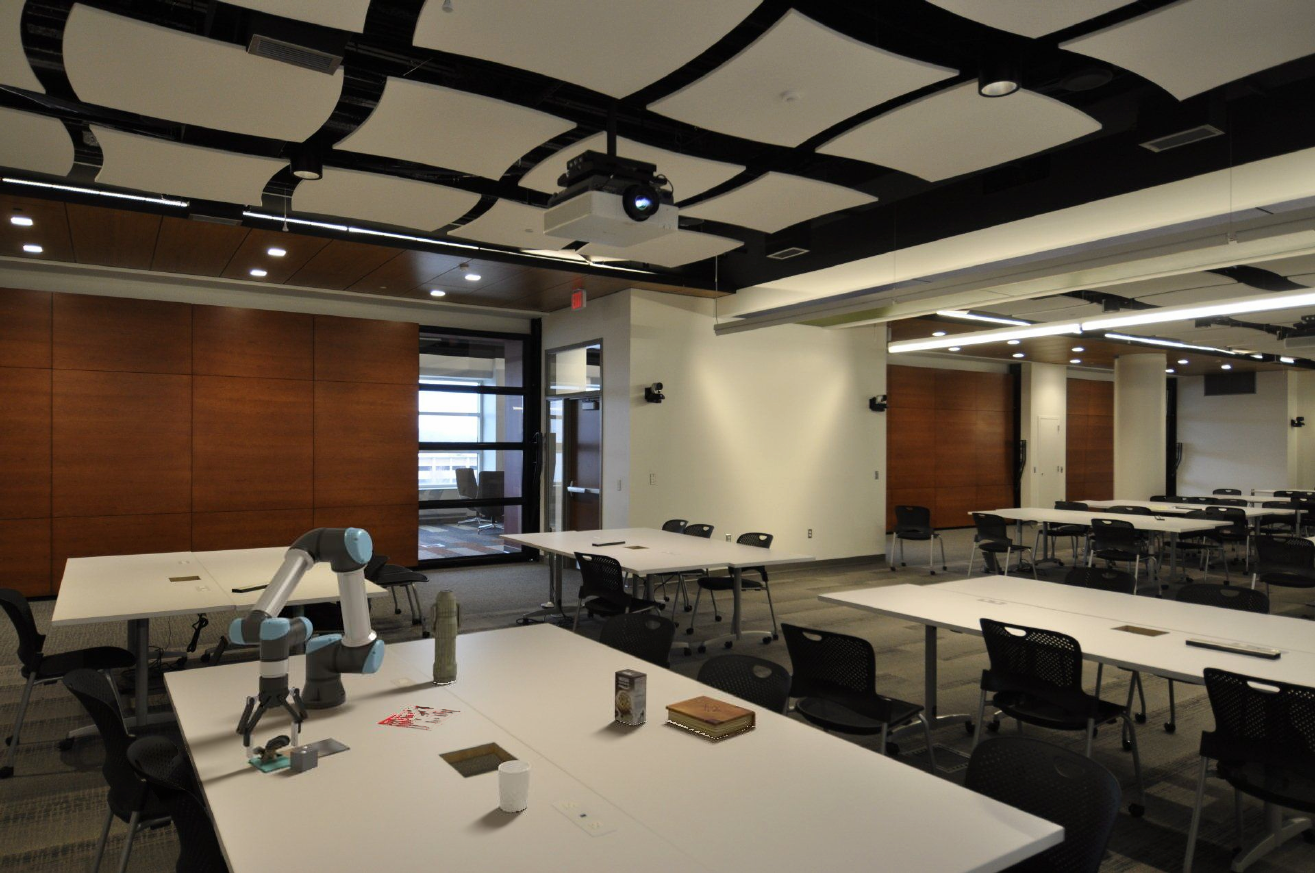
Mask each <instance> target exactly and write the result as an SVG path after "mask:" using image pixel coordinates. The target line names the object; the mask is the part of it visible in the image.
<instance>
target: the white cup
mask: <svg viewBox="0 0 1315 873" xmlns="http://www.w3.org/2000/svg"><path fill="white" fill-rule="evenodd" d="M497 774H498V792H499V793H498V794H499V808H500V809H502V810H503V811H502V810H501V811H502V812H505V811H506V812H505V813H512V812H513V813H517V812H516V811H519V812H522V811H524V810H526V809H527V808H528V805H529V794H530V784H531V783H530V781H531V780H530V779H531V778H530V777H531V764H530V763H529V762H528V761H526V760H525V761H524V760H520V759H518V760H508V761H505V762H502V763H500V764H499V765H498V773H497ZM526 807H527V808H526ZM525 808H526V809H525ZM523 809H524V810H523ZM521 810H522V811H521Z"/></svg>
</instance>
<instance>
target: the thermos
mask: <svg viewBox="0 0 1315 873" xmlns="http://www.w3.org/2000/svg"><path fill="white" fill-rule="evenodd" d="M455 594H456V593H455V591H453V590H451V589H450V590H449V589H445V590H444V589H443V590H440V591H438V592H437V594H436V597H435V603H432V605H431V606H430V609H429V630H430V632H433V638H434V662H433V665H432V677H433V681H434V682H436V683H448V682H451V681H455V680H456V681H457V675H458V663H457V660H456V659H457V657H456V656H457V655H456V654H457V653H456V652H457V650H456V648H457V642H456V641H457V637H458V630H459V629H460V628H461V627H462V606H461V604H460V603H459V602H458V601H457V598H456V595H455ZM434 609H435V614H434ZM456 612H457V615H456ZM434 616H435V617H434Z"/></svg>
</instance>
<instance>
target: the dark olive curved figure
mask: <svg viewBox="0 0 1315 873" xmlns="http://www.w3.org/2000/svg"><path fill="white" fill-rule="evenodd" d="M290 744H291V737H289V735H287V734H280V735H277V736H275V737H273V738H271V739H269V740H268V741H267V743H266V745H265V747H262V746H260V745H259V746H256V747H253V756H254V755H255V756H258V755H259V756H258V757H256V758H257V759H261V766H262V765H263V764H264V763H265V760H266V758H267V757H269V758H273V759H274V760H276V761H278V757H277V756H276V755H275V754H278V755H283V754H279V753H278V752H279V751H277V750H281V749H282V748H284V747H287V746H289V745H290ZM260 757H261V758H260Z"/></svg>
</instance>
